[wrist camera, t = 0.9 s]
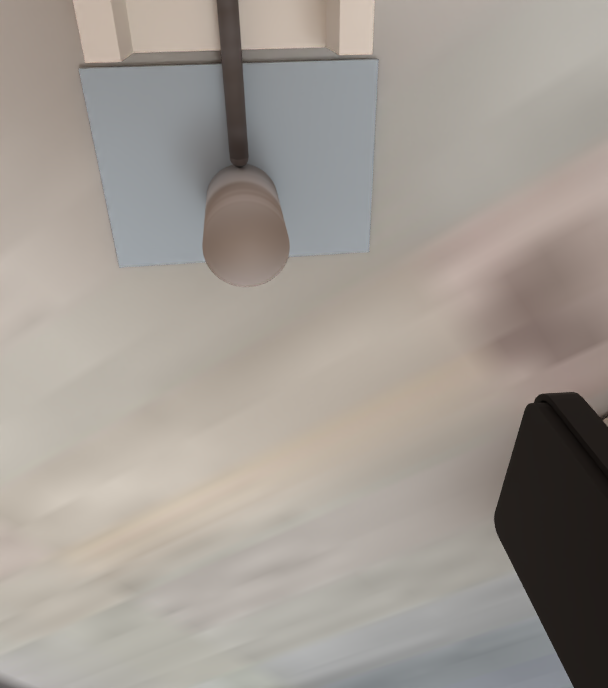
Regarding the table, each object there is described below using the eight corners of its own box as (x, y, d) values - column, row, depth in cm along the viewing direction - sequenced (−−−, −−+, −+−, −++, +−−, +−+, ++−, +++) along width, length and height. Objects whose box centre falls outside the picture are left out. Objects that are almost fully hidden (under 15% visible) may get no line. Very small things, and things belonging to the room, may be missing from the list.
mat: (367, 249, 28) (369, 252, 28) (120, 265, 27) (119, 267, 27) (377, 58, 24) (378, 59, 23) (80, 67, 23) (78, 68, 22)
